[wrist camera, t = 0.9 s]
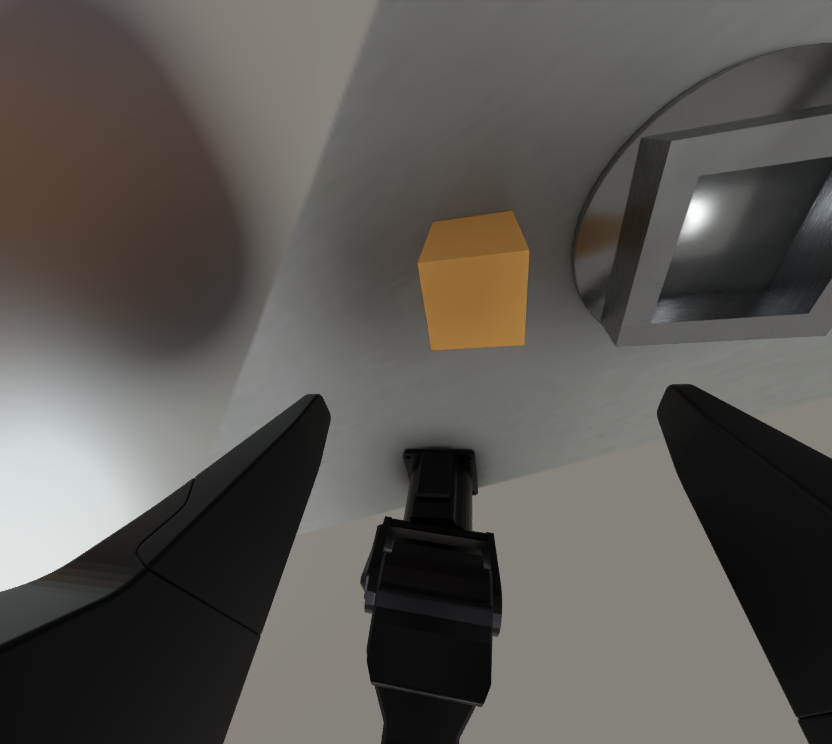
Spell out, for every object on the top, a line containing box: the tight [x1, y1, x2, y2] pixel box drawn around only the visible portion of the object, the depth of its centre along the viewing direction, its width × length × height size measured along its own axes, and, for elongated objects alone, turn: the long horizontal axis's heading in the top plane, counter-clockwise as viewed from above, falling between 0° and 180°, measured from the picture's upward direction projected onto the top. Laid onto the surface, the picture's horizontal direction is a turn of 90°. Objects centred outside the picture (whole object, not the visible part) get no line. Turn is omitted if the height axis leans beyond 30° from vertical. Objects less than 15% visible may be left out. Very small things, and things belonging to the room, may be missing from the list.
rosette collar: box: [572, 43, 832, 347], centre depth 14 cm, size 12×12×3 cm
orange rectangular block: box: [417, 211, 529, 350], centre depth 15 cm, size 4×4×6 cm
